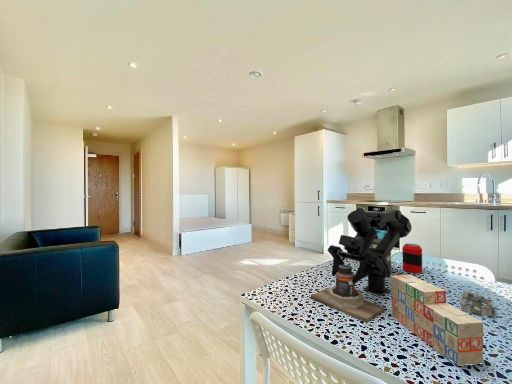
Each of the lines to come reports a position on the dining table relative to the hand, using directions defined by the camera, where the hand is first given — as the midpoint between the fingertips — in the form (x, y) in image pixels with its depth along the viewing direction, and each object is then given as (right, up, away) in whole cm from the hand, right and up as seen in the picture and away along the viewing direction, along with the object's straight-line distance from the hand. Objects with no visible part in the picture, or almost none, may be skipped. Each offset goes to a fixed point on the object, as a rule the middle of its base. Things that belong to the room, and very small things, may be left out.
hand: (342, 279), depth 78 cm
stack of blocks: (+16, -9, -17) cm, 25 cm away
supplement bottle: (+1, -8, +1) cm, 8 cm away
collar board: (+1, -9, +1) cm, 9 cm away
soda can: (+44, -8, +32) cm, 55 cm away
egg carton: (+41, -9, -3) cm, 42 cm away
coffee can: (+29, -8, +34) cm, 45 cm away
